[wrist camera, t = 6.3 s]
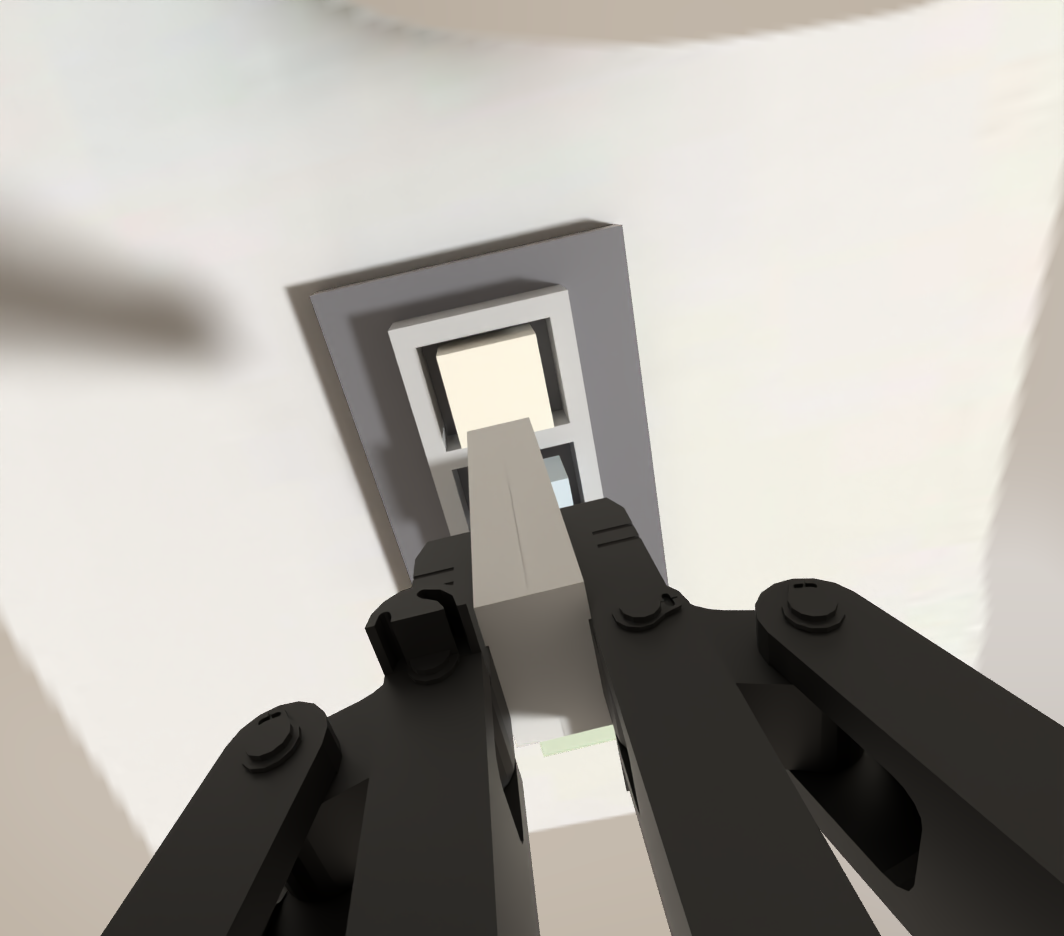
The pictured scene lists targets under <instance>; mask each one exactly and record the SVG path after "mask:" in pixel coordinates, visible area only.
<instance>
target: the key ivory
mask: <svg viewBox="0 0 1064 936" xmlns="http://www.w3.org/2000/svg"><path fill="white" fill-rule="evenodd" d="M436 358H437V362H438V365H439V369H440V372H441V376H442V380H443V383H444V387H445V390H446V394H447V398H448V401H449V405H450V408H451V412H452V416H453V419H454V423H455V426H456V430H457V434H458V437H459V441H460V444H461V448H462V449H463V448H467V431H471V430H476V429H480V428H484V427H489V426H493V425H497V424H501V423H506V422H510V421H514V420H519V419H523V418H527V417H529V418H530V421H531V424H532V427H533V430H534V432H536V431H540V430H545V429H549V428H553V427H554V423H553V418H552V413H551V408H550V403H549V398H548V393H547V388H546V383H545V378H544V373H543V368H542V363H541V358H540V353H539V348H538V343H537V338H536V334H535V332H534V330H533V329H532V327H531V325H530V324H529V323H527V324H522V325H518V326H514V327H509V328H505V329H501V330H496V331H492V332H488V333H483V334H479V335H475V336H470V337H466V338H462V339H457V340H453V341H448V342H444V343H440V344H438V349H437V355H436Z"/></svg>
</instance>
